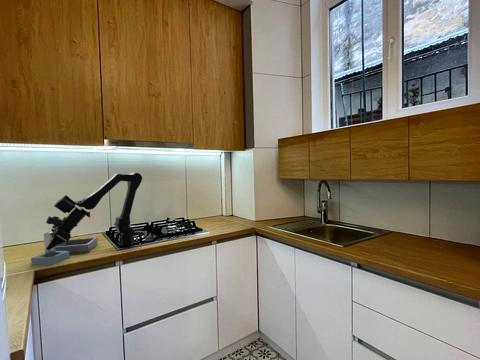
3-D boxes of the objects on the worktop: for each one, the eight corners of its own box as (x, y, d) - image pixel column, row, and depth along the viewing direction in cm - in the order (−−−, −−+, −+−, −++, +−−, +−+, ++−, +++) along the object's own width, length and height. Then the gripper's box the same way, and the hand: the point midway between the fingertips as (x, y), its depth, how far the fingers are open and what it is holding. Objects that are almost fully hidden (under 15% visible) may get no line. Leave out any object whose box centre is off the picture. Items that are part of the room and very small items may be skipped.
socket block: (69, 257, 125) (69, 251, 125) (51, 265, 115) (50, 258, 115) (51, 256, 127) (50, 250, 126) (31, 264, 117) (31, 257, 117)
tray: (98, 244, 145) (97, 237, 145) (88, 252, 131) (88, 244, 131) (65, 247, 142) (65, 239, 142) (52, 255, 128) (52, 247, 128)
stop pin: (58, 259, 122) (56, 231, 122) (51, 262, 118) (49, 233, 118) (51, 259, 123) (49, 231, 122) (43, 262, 119) (41, 233, 118)
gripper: (56, 207, 129) (29, 233, 123) (59, 211, 115) (29, 241, 108) (76, 220, 135) (51, 246, 128) (82, 226, 120) (54, 255, 114)
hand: (46, 247), depth 120 cm, fingers open, 9 cm apart
